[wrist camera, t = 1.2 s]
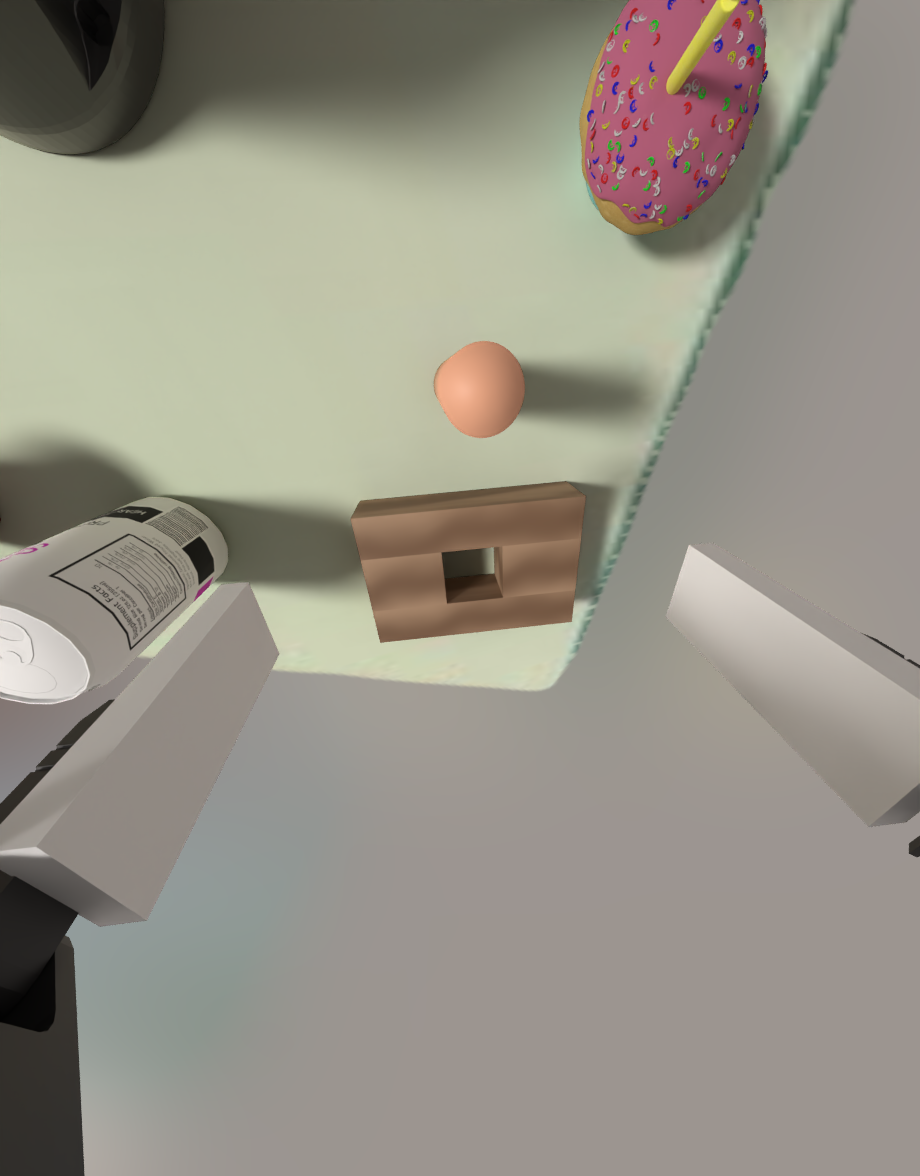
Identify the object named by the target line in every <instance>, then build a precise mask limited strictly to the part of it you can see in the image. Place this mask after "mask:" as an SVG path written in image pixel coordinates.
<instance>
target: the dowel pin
mask: <svg viewBox="0 0 920 1176" xmlns="http://www.w3.org/2000/svg"><path fill="white" fill-rule="evenodd" d="M434 391H435V394H436V397H437V399H438V400H439V402H440V404H441V406H442V408H443V410H444V411H445V413H446V415H447V417H448V419H449V420H450V422H451V423H452V424H453V425H454V426H455V427H456V428H457V429H458V430H459V431H461V432H462V433H464V434H466V435H469V436H472V437H477V438H486V437H491V436H494V435H497V434H499V433H501V432H502V431H504V430H505V429H506V428H508V427H509V426H510V425H511V424H512V423H513V421H514V420H515V419H516V417H517V415H518V414H519V411H520V409H521V407H522V404H523V400H524V393H525V382H524V376H523V372H522V369H521V367H520V364H519V363H518V361H517V359H516V358H515V357H514V355H513V354H512V353H511V352H510V351H509V350H508V349H506V348H505V347H503V346H501V345H499V344H497V343H494V342H489V341H480V342H475V343H472V344H469V345H467V346H465V347H464V348H462V349H461V350H459V351H458V352H457V353H455V354H454V355H453V356H451V357H450V358H449V359H447V360H446V361H445V362H443V363H442V364H441V365H440V367H439V368H438V370H437V372H436V374H435V378H434Z"/></svg>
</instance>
